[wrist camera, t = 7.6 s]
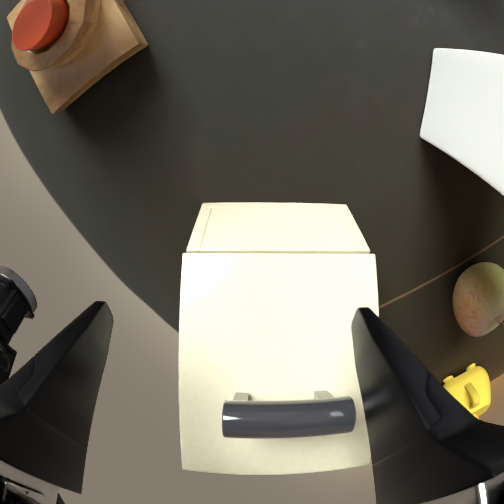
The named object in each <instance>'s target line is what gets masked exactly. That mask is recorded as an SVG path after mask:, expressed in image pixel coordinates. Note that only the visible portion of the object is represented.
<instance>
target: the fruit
mask: <svg viewBox="0 0 504 504" xmlns="http://www.w3.org/2000/svg"><path fill="white" fill-rule="evenodd" d="M453 309H454V314H455V317H456V319H457V322H458V324H459V325H460V327H461V328H462V329H463V331H465V332H466V333H467V334H469V335H471V336H476V337H478V336H483V335H485V334H487V333H489V332H490V331H492V330H493V329H494V328H496V327H497V326H498V325H499V324H501V325H502V326H503V327H504V323H501V322H502V321H503V320H504V269H503V268H501V267H500V266H498V265H497V264H494V263H490V262H481V263H477V264H475V265H473V266H471V267H469V268H468V269H466V270H465V271H464V272H463V273H462V274H461V275H460V276H459V278H458V280H457V282H456V284H455V287H454V291H453Z"/></svg>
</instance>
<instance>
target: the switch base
mask: <svg viewBox="0 0 504 504" xmlns="http://www.w3.org/2000/svg"><path fill="white" fill-rule="evenodd" d="M30 1H31V0H21V1H20V2H19V3H18V5H17V6H16V7H15V8H14V9H13V10H12V12H11V13H10V14H9V15H8V16H7V19H8V22H9V25H10V27H11V30H13V26H14V22H15V20H16V18H17V16H18V14H19V12H20V11H21V10H22V8H23V7H24V6H25V5H26V4H27V3H28V2H30ZM63 1H64V2H65V3H66V5H67V7H68V20H67V24H66V26H65V29H64V31H63V32H62V34H61V35H60V37H59V38H58V39H57V40H56V41H55V42H54V43H53V44H52V45H50V46H48V47H46V48H44V49H36V50H28V51H21V50H19V49H17V48H16V47H15V45H14V43H13V39H12V51H13V53H14V56H15V58H16V60H17V63H18V64H19V65H20V66H22V67H24V68H26V69H29V71H30V73H31V75H32V77H33V79H34V81H35V83H36V85H37V87H38V89H39V91H40V93H41V95H42V97H43V98H44V100H45V102H46V104H47V106H48V108H49V110H50V111H51V113H52V114H55V113H57V112H60V111H62V110H65V109H66V108H67V107H68V106H69V105H70V104H71V103H73V102H74V101H75V100H76V99H77V98H78V97H79V96H80V95H82V94H83V93H84V92H85V91H86V90H87V89H89V88H90V87H91V86H92V85H94V84H95V83H96V82H97V81H99V80H100V79H101V78H102V77H104V76H105V75H106V74H107V73H109V72H110V71H111V70H113V69H114V68H115V67H117V66H118V65H120V64H121V63H122V62H124V61H125V60H127V59H128V58H130V57H131V56H133V55H134V54H135V53H137V52H138V51H140V50H142V49H143V48H145V47H146V46H148V43H147V41H146V40H145V38H144V36H143V34H142V33H141V31H140V29H139V27H138V26H137V24H136V22H135V20H134V19H133V17H132V15H131V13H130V12H129V10H128V8H127V6H126V5H125V3H124V1H123V0H63Z"/></svg>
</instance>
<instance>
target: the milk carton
mask: <svg viewBox="0 0 504 504" xmlns="http://www.w3.org/2000/svg"><path fill="white" fill-rule="evenodd" d="M420 137H421V138H422V139H424V140H426V141H427V142H429V143H431V144H432V145H434V146H435V147H437V148H439V149H440V150H442V151H443V152H445V153H446V154H448V155H449V156H451V157H452V158H454V159H455V160H457V161H458V162H460V163H461V164H463V165H464V166H465V167H467V168H468V169H470V170H471V171H472V172H474V173H475V174H476V175H478V176H479V177H480V178H482V179H483V180H484V181H486V182H487V183H488V184H490V185H491V186H492V187H493V188H495V189H496V190H497V191H498V192H499V193H501V194H502V195H503V196H504V55H500V54H494V53H487V52H480V51H471V50H461V49H446V48H435V49H434V51H433V59H432V67H431V74H430V81H429V88H428V94H427V100H426V105H425V111H424V116H423V121H422V125H421V130H420Z"/></svg>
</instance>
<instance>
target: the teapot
mask: <svg viewBox="0 0 504 504" xmlns="http://www.w3.org/2000/svg"><path fill="white" fill-rule="evenodd" d="M443 382H444V383H445V384H444V385H443V387H444V388H445V389H446V390H447V391H448V392H449V393H450V394H451V395H452V396H453V397H454V398H455V399H456V400H458V401H459V402H460V403H461V404H462V405H463V406H464V407H465V408H466V409H467V410H468V411H469V412H470V413H471V414H473V415H474V416H475V417H476V418H478V416H480V415H481V414H483V413H484V412H485V411H486V410H487V409H488V408H489V406H490V401H491V392H490V391H491V390H490V381H489V377H488V374H487V372H486V370H485V369H484V368H482V367H480V366H476V367H475V363H474V364H471V365H470V366H469V367H467V369H466V372H464V373H462V374H461V375H459V376H457V377H455V378H454V377H453V376H449V377H447V378H445V379H444V380H443ZM478 419H479V418H478Z"/></svg>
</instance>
